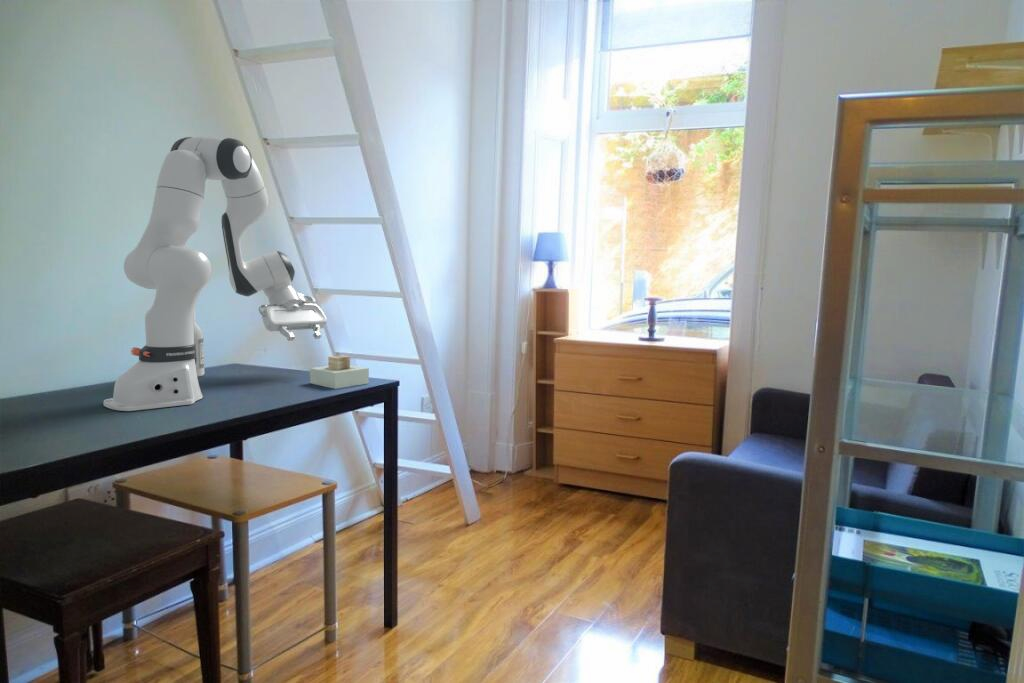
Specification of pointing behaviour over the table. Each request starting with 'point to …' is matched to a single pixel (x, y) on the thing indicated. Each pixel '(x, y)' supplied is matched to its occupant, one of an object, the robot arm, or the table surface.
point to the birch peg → (338, 363)
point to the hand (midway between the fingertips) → (305, 338)
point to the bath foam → (199, 349)
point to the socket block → (339, 377)
